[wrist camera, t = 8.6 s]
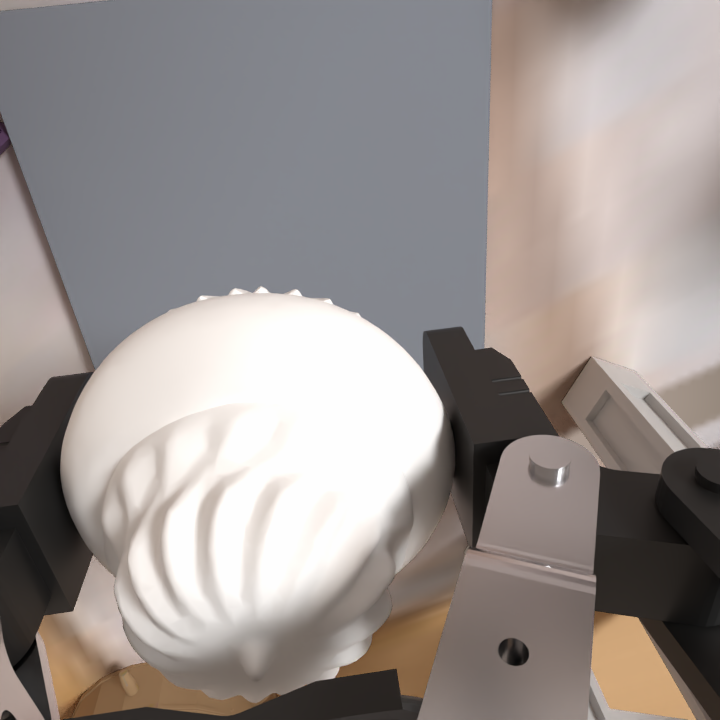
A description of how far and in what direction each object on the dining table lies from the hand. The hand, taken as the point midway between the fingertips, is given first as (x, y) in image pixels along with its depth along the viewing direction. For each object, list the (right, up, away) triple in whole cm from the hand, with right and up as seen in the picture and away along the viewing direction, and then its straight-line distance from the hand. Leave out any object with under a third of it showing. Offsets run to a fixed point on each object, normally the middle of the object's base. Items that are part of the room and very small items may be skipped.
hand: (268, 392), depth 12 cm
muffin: (0, +1, +1) cm, 1 cm away
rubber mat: (-1, +5, +8) cm, 10 cm away
